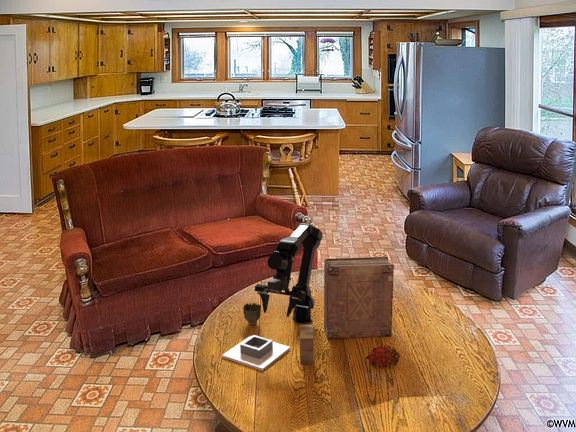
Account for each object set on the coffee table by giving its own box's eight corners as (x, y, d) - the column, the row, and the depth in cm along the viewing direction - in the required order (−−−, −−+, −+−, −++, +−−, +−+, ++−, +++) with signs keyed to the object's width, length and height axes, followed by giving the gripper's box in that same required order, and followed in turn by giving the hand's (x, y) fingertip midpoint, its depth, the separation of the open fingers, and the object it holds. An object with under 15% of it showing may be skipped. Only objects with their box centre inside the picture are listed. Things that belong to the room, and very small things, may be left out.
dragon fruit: (402, 371, 207) (368, 375, 209) (398, 349, 213) (365, 353, 214) (402, 361, 201) (367, 365, 202) (398, 339, 206) (363, 343, 207)
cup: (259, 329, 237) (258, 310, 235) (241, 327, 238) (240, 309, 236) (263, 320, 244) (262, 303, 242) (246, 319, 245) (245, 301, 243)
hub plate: (251, 337, 230) (251, 327, 229) (290, 349, 221) (290, 338, 219) (222, 357, 215) (222, 346, 214) (262, 370, 206) (262, 359, 205)
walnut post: (299, 357, 215) (299, 325, 211) (312, 357, 215) (312, 324, 211) (300, 363, 210) (300, 330, 207) (313, 363, 210) (313, 330, 207)
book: (385, 326, 238) (388, 256, 230) (391, 336, 230) (394, 264, 222) (323, 328, 237) (324, 258, 228) (327, 339, 228) (327, 267, 220)
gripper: (252, 267, 216) (244, 309, 214) (299, 273, 209) (291, 317, 207) (264, 271, 227) (256, 311, 224) (309, 277, 219) (302, 319, 217)
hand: (275, 314), depth 218 cm, fingers open, 9 cm apart
